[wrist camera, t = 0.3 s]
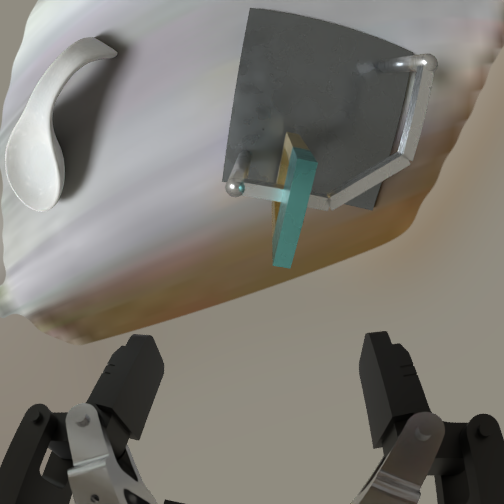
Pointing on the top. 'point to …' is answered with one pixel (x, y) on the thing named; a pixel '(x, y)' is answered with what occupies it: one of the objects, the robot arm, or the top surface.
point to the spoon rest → (46, 130)
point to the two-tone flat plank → (291, 198)
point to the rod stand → (322, 108)
